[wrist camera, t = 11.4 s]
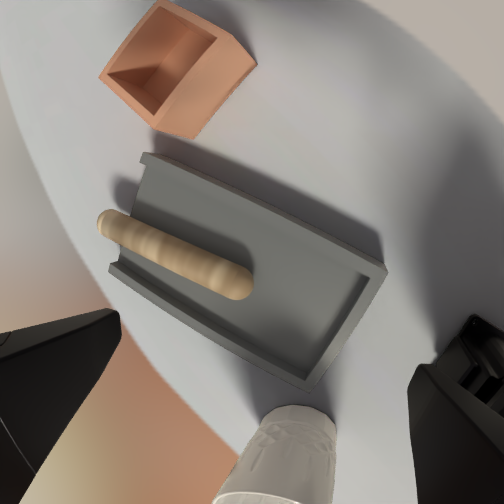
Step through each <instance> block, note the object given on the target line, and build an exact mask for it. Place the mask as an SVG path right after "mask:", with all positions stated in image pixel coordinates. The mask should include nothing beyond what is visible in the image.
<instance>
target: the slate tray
mask: <svg viewBox="0 0 504 504" xmlns="http://www.w3.org/2000/svg"><path fill="white" fill-rule="evenodd" d="M140 163H142V164H144V165H146V169H145V172H144V174H143V177H142V180H141V183H140V186H139V189H138V193H137V196H136V199H135V202H134V205H133V208H132V212H131V215H130V217H132V218H134V219H136V220H139V221H141V222H143V223H145V224H147V225H150V226H152V227H154V228H156V229H159V230H161V231H163V232H165V233H167V234H170V235H172V236H174V237H176V238H179V239H181V240H183V241H185V242H188V243H190V244H192V245H195V246H197V247H199V248H201V249H204V250H206V251H208V252H210V253H213V254H215V255H217V256H220V257H222V258H224V259H226V260H229V261H231V262H233V263H236V264H238V265H240V266H243V267H245V268H246V269H248V270H249V271H250V273H251V274H252V276H253V279H254V287H253V290H252V292H251V293H250V294H249V295H248V296H247V297H246V298H244V299H241V300H233V299H229V298H227V297H225V296H223V295H221V294H219V293H217V292H214V291H212V290H210V289H208V288H206V287H204V286H202V285H200V284H198V283H196V282H193V281H191V280H189V279H187V278H185V277H183V276H181V275H179V274H177V273H175V272H173V271H171V270H169V269H167V268H165V267H163V266H161V265H159V264H157V263H155V262H153V261H151V260H149V259H147V258H145V257H143V256H141V255H139V254H137V253H135V252H133V251H131V250H129V249H127V248H126V247H124V246H122V247H121V251H120V255H119V259H118V261H116V262H113V263H110V266H109V270H108V272H109V273H110V274H112V275H113V276H114V277H116V278H117V279H119V280H120V281H121V282H123V283H124V284H126V285H127V286H129V287H130V288H131V289H133V290H134V291H136V292H137V293H139V294H140V295H142V296H143V297H144V298H146V299H147V300H149V301H150V302H152V303H153V304H155V305H156V306H158V307H159V308H161V309H162V310H164V311H166V312H167V313H169V314H170V315H172V316H173V317H175V318H176V319H178V320H179V321H181V322H183V323H184V324H186V325H187V326H189V327H191V328H192V329H194V330H195V331H197V332H199V333H200V334H202V335H204V336H205V337H207V338H209V339H210V340H212V341H214V342H215V343H217V344H219V345H220V346H222V347H224V348H225V349H227V350H229V351H231V352H232V353H234V354H236V355H238V356H239V357H241V358H243V359H245V360H247V361H248V362H250V363H252V364H254V365H256V366H257V367H259V368H261V369H263V370H265V371H267V372H268V373H270V374H272V375H274V376H276V377H278V378H280V379H282V380H284V381H286V382H287V383H289V384H291V385H293V386H295V387H297V388H299V389H301V390H303V391H305V392H307V393H310V392H311V390H312V389H313V388H314V386H315V385H316V384H317V382H318V381H319V380H320V378H321V377H322V376H323V374H324V373H325V371H326V370H327V369H328V367H329V366H330V364H331V363H332V362H333V360H334V359H335V357H336V356H337V354H338V353H339V351H340V350H341V349H342V347H343V346H344V344H345V343H346V341H347V340H348V338H349V337H350V335H351V334H352V332H353V330H354V329H355V327H356V326H357V324H358V323H359V321H360V320H361V318H362V316H363V315H364V313H365V312H366V310H367V308H368V307H369V305H370V303H371V302H372V300H373V298H374V297H375V295H376V293H377V292H378V290H379V288H380V287H381V285H382V283H383V281H384V280H385V278H386V276H387V274H388V271H387V268H386V266H385V264H383V263H382V262H380V261H378V260H376V259H374V258H373V257H371V256H369V255H367V254H365V253H363V252H361V251H360V250H358V249H356V248H354V247H352V246H350V245H348V244H346V243H345V242H343V241H341V240H339V239H337V238H335V237H333V236H331V235H329V234H327V233H325V232H324V231H322V230H320V229H318V228H316V227H314V226H312V225H310V224H308V223H306V222H304V221H302V220H300V219H298V218H296V217H294V216H292V215H290V214H288V213H286V212H284V211H282V210H280V209H278V208H276V207H274V206H272V205H270V204H268V203H266V202H264V201H262V200H259V199H257V198H255V197H253V196H251V195H249V194H247V193H245V192H243V191H241V190H239V189H236V188H234V187H232V186H230V185H228V184H226V183H224V182H221V181H219V180H217V179H215V178H213V177H211V176H208V175H206V174H204V173H202V172H200V171H197V170H195V169H193V168H191V167H188V166H186V165H184V164H182V163H179V162H177V161H175V160H173V159H170V158H168V157H166V156H163V155H161V154H156V153H148V152H143V154H142V156H141V159H140Z"/></svg>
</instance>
